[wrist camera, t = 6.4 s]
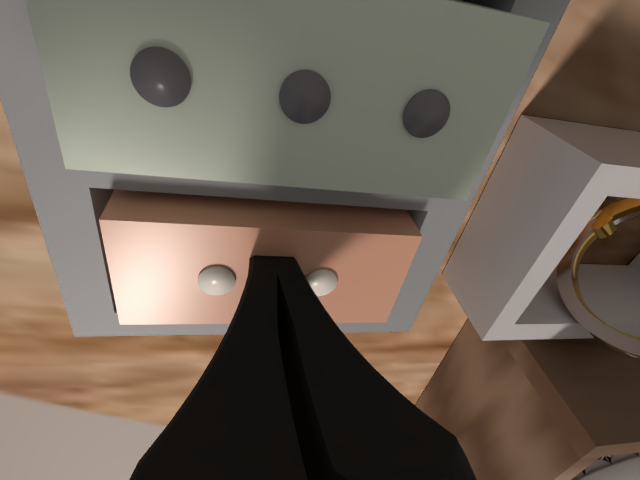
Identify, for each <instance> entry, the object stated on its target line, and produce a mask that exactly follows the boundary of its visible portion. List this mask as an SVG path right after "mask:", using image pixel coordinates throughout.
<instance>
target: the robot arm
mask: <svg viewBox="0 0 640 480" xmlns="http://www.w3.org/2000/svg"><path fill="white" fill-rule="evenodd" d="M130 480H477V479H476V476H475V474H474V472H473V470H472V467H471V465H470V463H469V461H468V458H467V456H466V454H465V452H464V451H463V449H462V447H461V445H460V444H459V442H458V440H457V438H456V436H455V435H453V434H452V433H451V432H449V431H448V430H447V429H445V428H444V427H442V426H441V425H440V424H438V423H437V422H436V421H434V420H433V419H432V418H430V417H429V416H428V415H426V414H425V413H424V412H422V411H421V410H420V409H419V408H417V407H416V406H415V405H414V404H413V403H411V402H410V401H409V400H408V399H407V398H406V397H404V396H403V395H402V394H401V393H400V392H399V391H398V390H396V389H395V388H394V387H393V386H392V385H391V384H390V383H389V382H388V381H387V380H386V379H385V378H384V377H383V376H382V375H381V374H380V373H378V372H377V371H376V370H375V369H374V368H373V367H372V366H371V364H370V363H369V362H368V361H367V360H366V359H365V358H364V357H363V356H362V355H361V354H360V353H359V351H358V350H357V349H356V348H355V347H354V346H353V345H352V343H351V342H350V341H349V340H348V339H347V337H346V336H345V335H344V334H343V332H342V331H341V330H340V329H339V327H338V326H337V325H336V323H335V322H334V321H333V319H332V318H331V316H330V315H329V314H328V312H327V311H326V309H325V308H324V306H323V305H322V303H321V302H320V300H319V299H318V297H317V296H316V294H315V292H314V291H313V289H312V288H311V286H310V284H309V282H308V281H307V279H306V277H305V275H304V274H303V272H302V270H301V268H300V266H299V264H298V262H297V260H296V259H295V258H294V257H287V256H257V255H253V256H252V257H250V258H249V269H248V276H247V280H246V284H245V287H244V290H243V293H242V296H241V299H240V301H239V304H238V307H237V309H236V312H235V314H234V316H233V318H232V321H231V323H230V325H229V327H228V329H227V332H226V334H225V336H224V338H223V340H222V341H221V343H220V345H219V347H218V349H217V351H216V353H215V354H214V356H213V358H212V360H211V361H210V363H209V365H208V366H207V368H206V370H205V371H204V373H203V375H202V376H201V378H200V379H199V381H198V383H197V384H196V386H195V387H194V389H193V390H192V392H191V393H190V394H189V396H188V397H187V399H186V400H185V402H184V403H183V404H182V406H181V407H180V409H179V410H178V412H177V413H176V414H175V416H174V417H173V419H172V420H171V421H170V423H169V424H168V425H167V427H166V428H165V429H164V430H163V432H162V433H161V434H160V435H159V437H158V438H157V439H156V440H155V442H154V443H153V444H152V445H151V447H150V448H149V449H148V450H147V452H146V453H145V454H144V455H143V457H142V458H141V459H140V460H139V462H138V464H137V466H136V468H135V470H134V472H133V474H132V476H131V478H130Z"/></svg>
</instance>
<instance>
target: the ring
mask: <svg viewBox="0 0 640 480" xmlns="http://www.w3.org/2000/svg"><path fill="white" fill-rule="evenodd" d="M639 215H640V199H636V198H624V199H621V200H619V201H616V202H614V203H612V204H610V205H608V206H606V207H604V208H602V209H599V208H598V210H597V211H596V212H595V214H594V215H593V216H592V218H591V219H590V221H589V222H588V223H587V225H586V226H585V227H584V229H583V230H582V232H581V233H580V234H579V236H578V237H577V239H576V240H575V241H574V243H573V244H572V245H571V247H570V248H569V250H568V251H567V252H566V254H565V255H564V256H563V258H562V259H561V261H560V262H559V263H558V265H557V283H558V288H559V292H560V295H561V297H562V300H563V302H564V304H565V306H566V307H567V309H568V310H569V312H570V313H571V314H572V316H573V317H574V318H575V320H576V321H577V322H578V323H579V324H580V325H581V326H582V327H583V328H584V329H585V330H586V331H587V332H588V333H589V334H590V335H592V336H593V337H594V338H595V339H596V340H598V341H599V342H600V343H602V344H603V345H605V346H607V347H608V348H610V349H612V350H614V351H616V352H618V353H620V354H622V355H625V356H627V357H630V358H633V359H636V360H640V337H636V336H632V335H629V334H626V333H624V332H621V331H619V330H617V329H615V328H613V327H611V326H609V325H608V324H606V323H605V322H603V321H602V320H601V319H599V318H598V317H597V316H596V315H595V314H594V313H593V312H592V311H591V310H590V309H589V308H588V306H587V305H586V303H585V301H584V299H583V297H582V295H581V292H580V289H579V284H578V269H579V265H580V262H581V259H582V257H583V255H584V253H585V252H586V250H587V249H588V248H589V246H590V245H591V244H592V243H593V242H594V241H595V240H596V239H597V238H600V239H602V238H606V237H608V236H610V235H611V234H613V233H614V232H615V231H616V229H617V227H616V225H617V224H619V223H621V222H623V221H625V220H628V219H630V218H633V217H636V216H639Z"/></svg>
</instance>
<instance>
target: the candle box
mask: <svg viewBox="0 0 640 480" xmlns="http://www.w3.org/2000/svg"><path fill="white" fill-rule="evenodd" d="M415 406H416V407H417V408H419V409H420V410H421V411H422V412H424V413H425V414H426V415H428V416H429V417H430V418H432V419H433V420H434V421H436V422H437V423H438V424H440V425H441V426H442V427H444V428H445V429H447V430H448V431H449V432H451V433H452V434H453V435H455V436H456V438H457V440H458V442H459V444H460V445H461V447H462V449H463V451H464V452H465V454H466V456H467V458H468V461H469V463H470V465H471V467H472V470H473V472H474V474H475V476H476V479H477V480H571V479H572V478H573V477H575V476H576V475H577V474H579V473H580V472H581V471H583V470H584V469H585V468H587V467H588V466H589V465H591V464H592V463H593V462H595V461H596V460H598V459H599V458H600V457H602V456H610V455H619V454H628V453H636V452H640V360H636V359H633V358H630V357H627V356H625V355H622V354H620V353H618V352H616V351H614V350H612V349H610V348H608V347H607V346H605V345H603V344H602V343H600V342H599V341H598V340H596V339H595V338H580V339H534V340H489V341H482V340H481V338H480V336H479V335H478V333H477V332H476V330H475V328H474V327H473V325H472V323H471V322H470V320H469V318H468V320H467V321H466V323H465V325H464V326H463V328H462V329H461V331H460V333H459V334H458V336H457V338H456V339H455V341H454V343H453V344H452V346H451V348H450V349H449V351H448V352H447V354H446V356H445V357H444V359H443V361H442V362H441V364H440V366H439V367H438V369H437V371H436V372H435V374H434V376H433V377H432V379H431V380H430V382H429V384H428V385H427V387H426V389H425V390H424V392H423V394H422V395H421V397H420V399H419V400H418V402H417V403H416V405H415Z"/></svg>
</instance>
